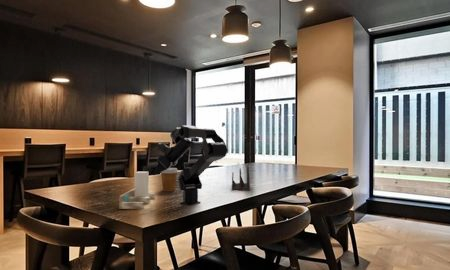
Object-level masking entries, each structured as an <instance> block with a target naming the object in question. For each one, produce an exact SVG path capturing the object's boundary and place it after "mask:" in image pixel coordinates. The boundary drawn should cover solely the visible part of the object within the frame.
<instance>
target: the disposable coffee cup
mask: <svg viewBox="0 0 450 270" xmlns="http://www.w3.org/2000/svg"><path fill="white" fill-rule="evenodd" d="M178 172H179V170H178V168H177V167H171V168H169V169H167V170H164V171H162V172H160V175H161V182H162V191H163V192H174V191H175V190H176V181H177V175H178Z"/></svg>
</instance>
